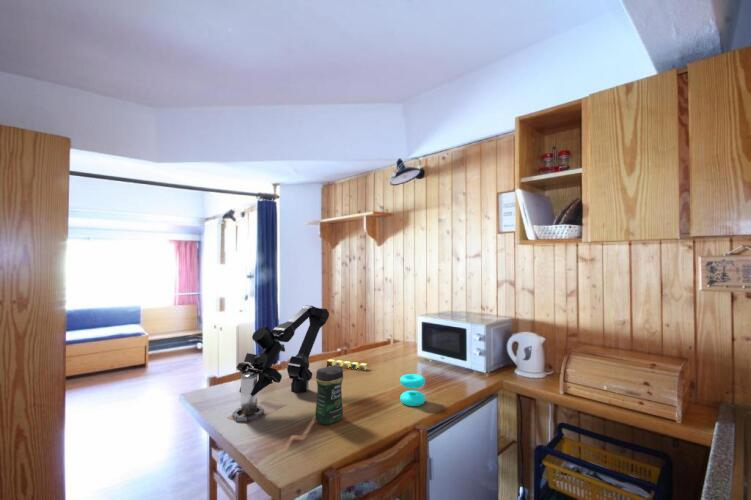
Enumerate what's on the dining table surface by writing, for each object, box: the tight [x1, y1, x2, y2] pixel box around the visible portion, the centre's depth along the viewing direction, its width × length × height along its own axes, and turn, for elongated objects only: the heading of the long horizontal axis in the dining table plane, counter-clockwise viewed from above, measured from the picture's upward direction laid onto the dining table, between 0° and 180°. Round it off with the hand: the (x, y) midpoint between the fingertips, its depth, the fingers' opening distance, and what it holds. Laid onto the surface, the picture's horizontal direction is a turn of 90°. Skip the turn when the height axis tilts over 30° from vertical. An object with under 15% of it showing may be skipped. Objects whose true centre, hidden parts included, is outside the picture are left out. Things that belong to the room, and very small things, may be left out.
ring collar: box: [231, 406, 264, 423], centre depth 123 cm, size 10×10×2 cm
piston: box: [240, 372, 258, 415], centre depth 124 cm, size 6×6×13 cm
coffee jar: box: [314, 365, 344, 426], centre depth 123 cm, size 10×8×19 cm
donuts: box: [399, 373, 426, 407], centre depth 138 cm, size 10×10×10 cm
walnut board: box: [226, 399, 288, 426], centre depth 127 cm, size 19×11×1 cm, turn 151°
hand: (245, 394), depth 123 cm, fingers closed on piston, 5 cm apart
